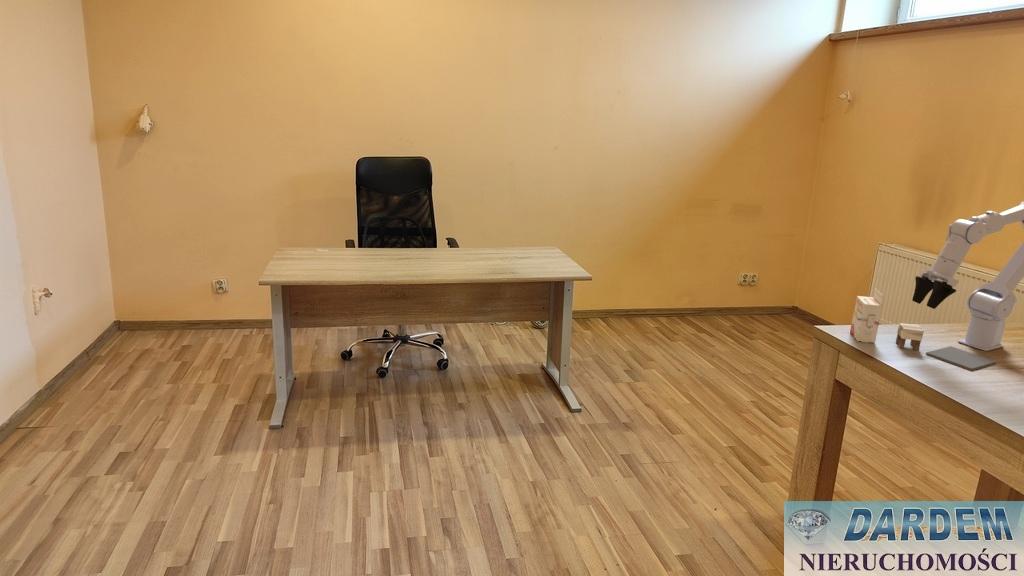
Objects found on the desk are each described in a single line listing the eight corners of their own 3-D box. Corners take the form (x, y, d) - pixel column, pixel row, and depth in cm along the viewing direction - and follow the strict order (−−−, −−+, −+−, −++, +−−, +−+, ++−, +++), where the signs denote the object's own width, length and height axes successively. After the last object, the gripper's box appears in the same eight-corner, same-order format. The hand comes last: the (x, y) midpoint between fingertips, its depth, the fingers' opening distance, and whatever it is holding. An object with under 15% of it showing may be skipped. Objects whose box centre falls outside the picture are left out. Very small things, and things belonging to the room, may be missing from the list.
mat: (950, 348, 186) (950, 346, 186) (995, 363, 176) (996, 361, 176) (925, 354, 181) (926, 352, 180) (971, 370, 171) (971, 368, 170)
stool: (895, 342, 189) (899, 322, 187) (914, 344, 188) (918, 325, 186) (899, 348, 185) (903, 328, 183) (919, 350, 183) (923, 330, 181)
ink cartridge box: (848, 331, 196) (857, 285, 192) (866, 333, 195) (876, 287, 191) (857, 341, 188) (867, 293, 184) (875, 343, 187) (885, 295, 183)
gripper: (921, 252, 185) (897, 294, 188) (950, 258, 171) (923, 303, 173) (943, 262, 185) (919, 304, 188) (975, 269, 171) (947, 314, 173)
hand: (922, 304), depth 181 cm, fingers open, 7 cm apart
